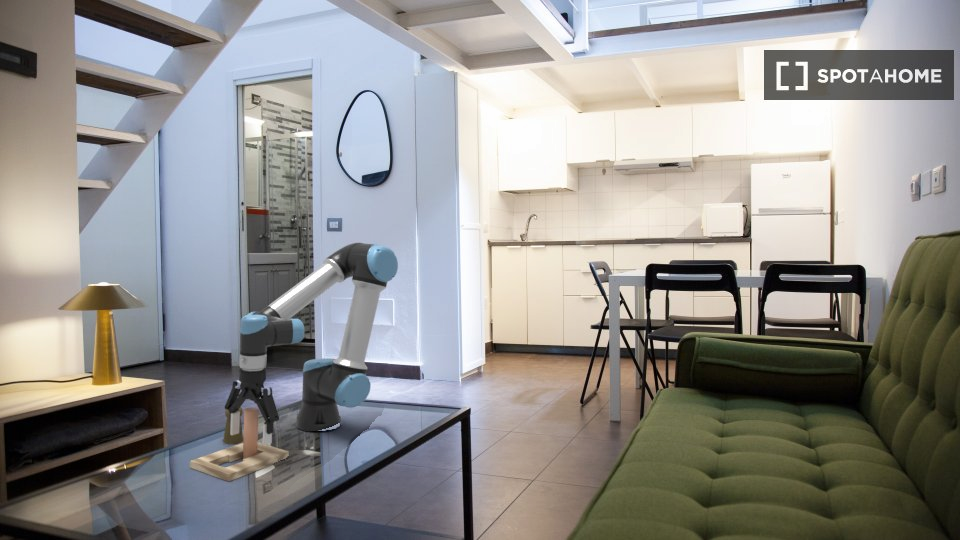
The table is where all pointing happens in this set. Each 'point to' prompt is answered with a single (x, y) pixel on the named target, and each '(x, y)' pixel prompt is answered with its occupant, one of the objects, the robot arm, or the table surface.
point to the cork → (227, 437)
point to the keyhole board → (251, 464)
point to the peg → (250, 432)
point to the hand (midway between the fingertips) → (250, 439)
